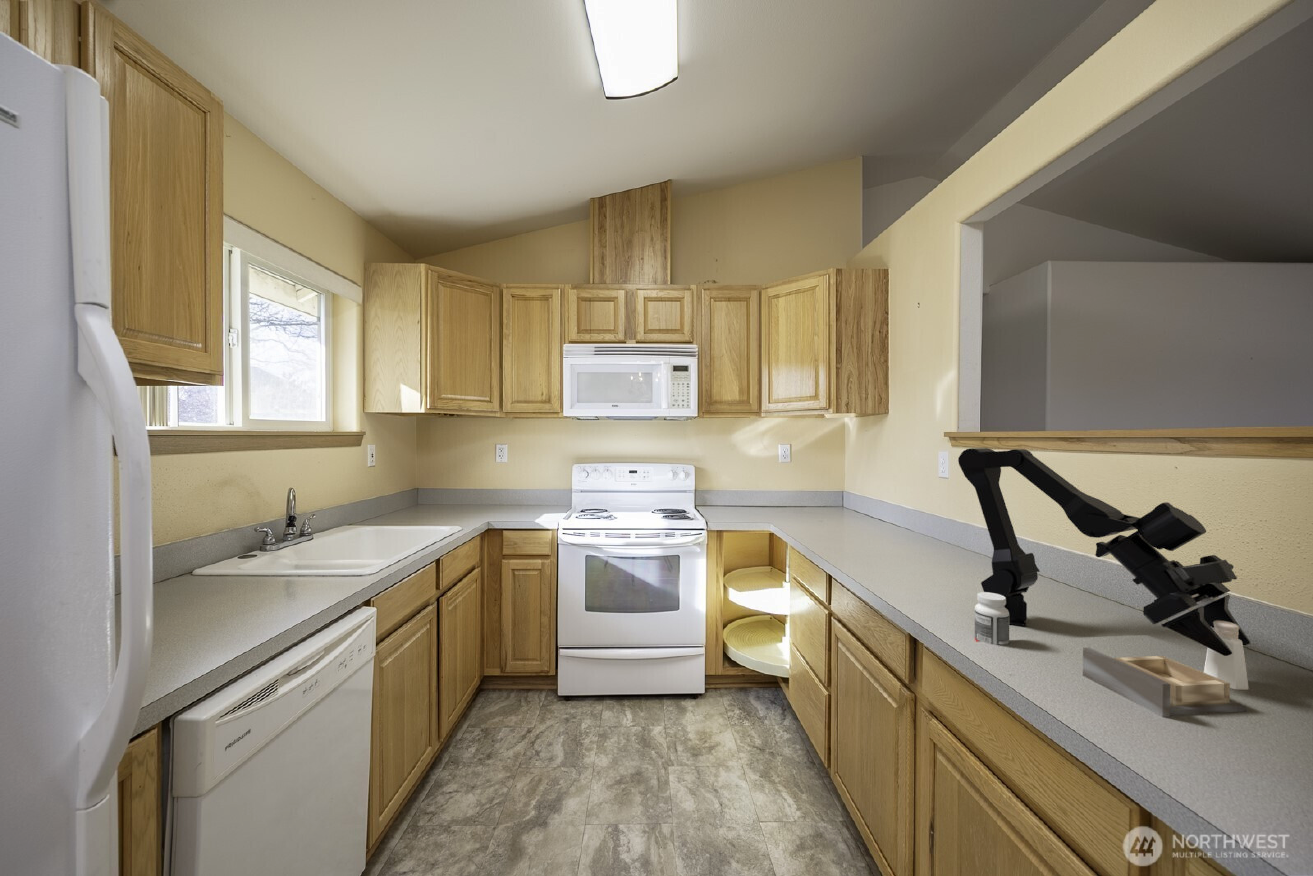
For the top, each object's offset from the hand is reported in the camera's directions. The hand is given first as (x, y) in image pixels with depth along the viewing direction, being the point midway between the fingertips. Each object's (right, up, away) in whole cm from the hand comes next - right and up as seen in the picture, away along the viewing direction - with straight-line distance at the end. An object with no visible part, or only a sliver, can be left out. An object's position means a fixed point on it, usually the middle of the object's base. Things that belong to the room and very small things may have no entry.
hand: (1238, 649), depth 79 cm
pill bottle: (-28, -7, +18) cm, 34 cm away
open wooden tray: (-16, -7, 0) cm, 17 cm away
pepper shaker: (-1, -7, +1) cm, 7 cm away
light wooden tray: (-13, -6, -2) cm, 15 cm away
